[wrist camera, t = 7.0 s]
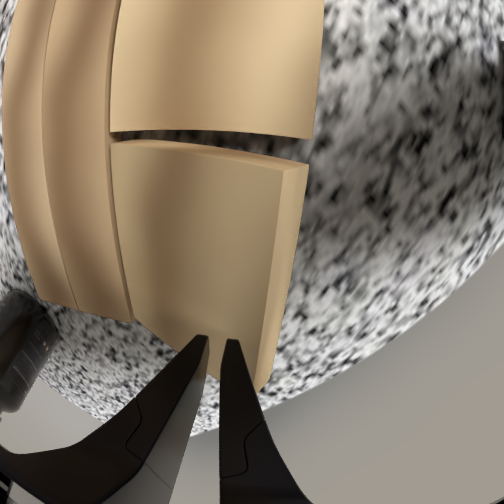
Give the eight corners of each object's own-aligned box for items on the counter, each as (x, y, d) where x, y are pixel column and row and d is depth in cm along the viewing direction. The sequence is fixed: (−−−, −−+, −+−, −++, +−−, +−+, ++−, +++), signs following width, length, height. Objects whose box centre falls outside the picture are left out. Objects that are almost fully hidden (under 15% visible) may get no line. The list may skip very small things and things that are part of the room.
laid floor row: (143, -46, 6) (131, -56, 5) (141, 307, 16) (131, 323, 15) (34, 0, 6) (18, -3, 5) (50, 286, 16) (39, 298, 15)
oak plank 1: (322, -50, 6) (325, -65, 4) (308, 136, 10) (311, 140, 9) (149, -41, 6) (135, -52, 5) (128, 128, 11) (110, 132, 9)
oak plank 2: (309, 164, 7) (283, 171, 6) (269, 379, 12) (251, 400, 11) (138, 138, 11) (110, 143, 10) (154, 306, 16) (134, 318, 14)
